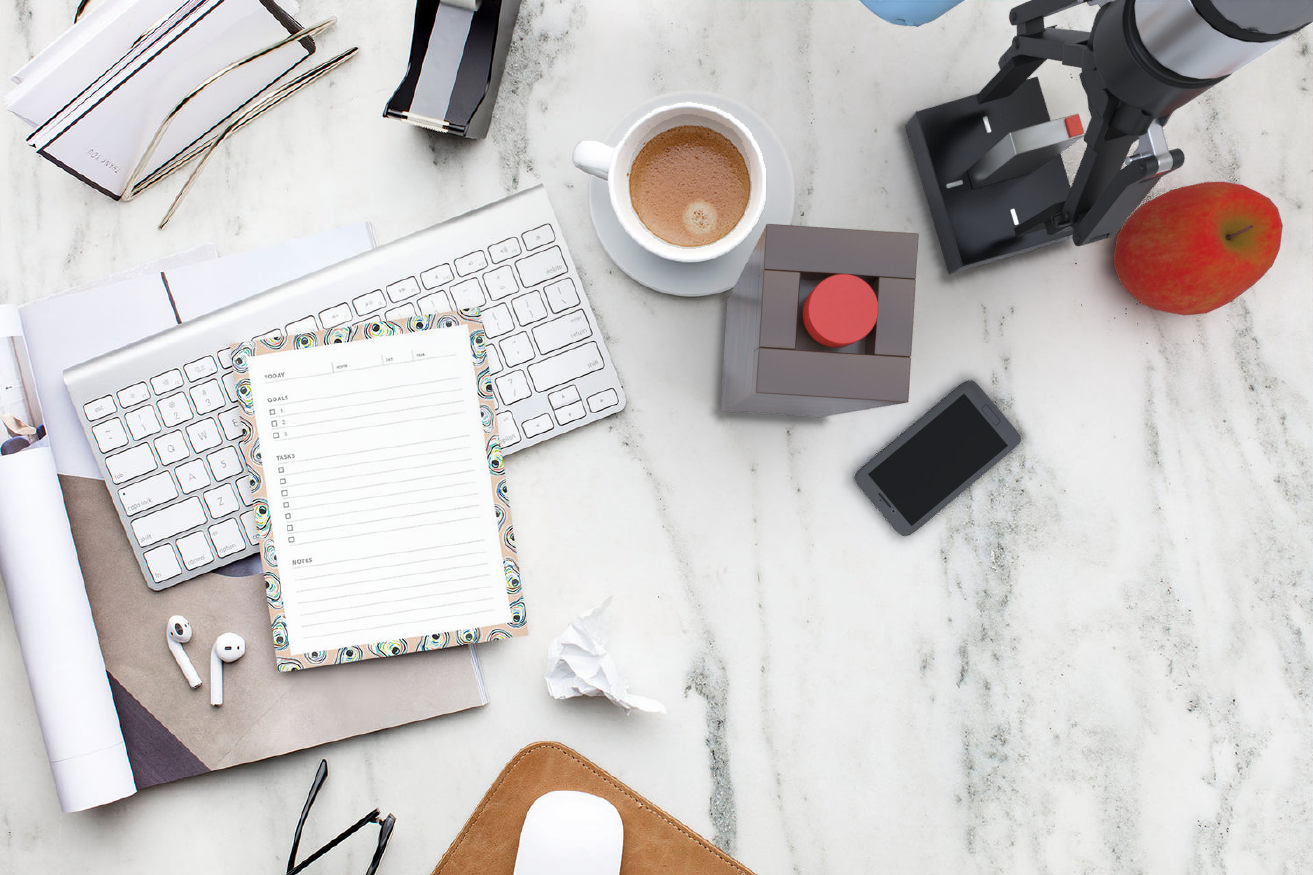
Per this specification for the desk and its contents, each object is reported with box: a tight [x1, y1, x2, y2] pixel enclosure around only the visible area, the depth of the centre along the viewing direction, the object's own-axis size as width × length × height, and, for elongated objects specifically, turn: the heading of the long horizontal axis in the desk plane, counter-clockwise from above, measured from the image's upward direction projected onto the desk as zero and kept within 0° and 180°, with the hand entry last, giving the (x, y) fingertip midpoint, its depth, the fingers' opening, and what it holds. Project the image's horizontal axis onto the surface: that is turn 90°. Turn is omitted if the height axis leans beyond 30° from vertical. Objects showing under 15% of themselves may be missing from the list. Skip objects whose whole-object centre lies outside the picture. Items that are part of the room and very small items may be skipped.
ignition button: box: [803, 274, 878, 348], centre depth 45 cm, size 4×4×2 cm
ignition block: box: [720, 223, 919, 418], centre depth 58 cm, size 10×9×24 cm
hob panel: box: [905, 76, 1074, 275], centre depth 68 cm, size 14×11×3 cm
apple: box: [1112, 181, 1284, 316], centre depth 64 cm, size 11×11×11 cm
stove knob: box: [968, 113, 1086, 189], centre depth 63 cm, size 6×2×8 cm, turn 106°
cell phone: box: [854, 379, 1022, 537], centre depth 69 cm, size 7×14×1 cm, turn 130°
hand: (1011, 162), depth 65 cm, fingers open, 11 cm apart
